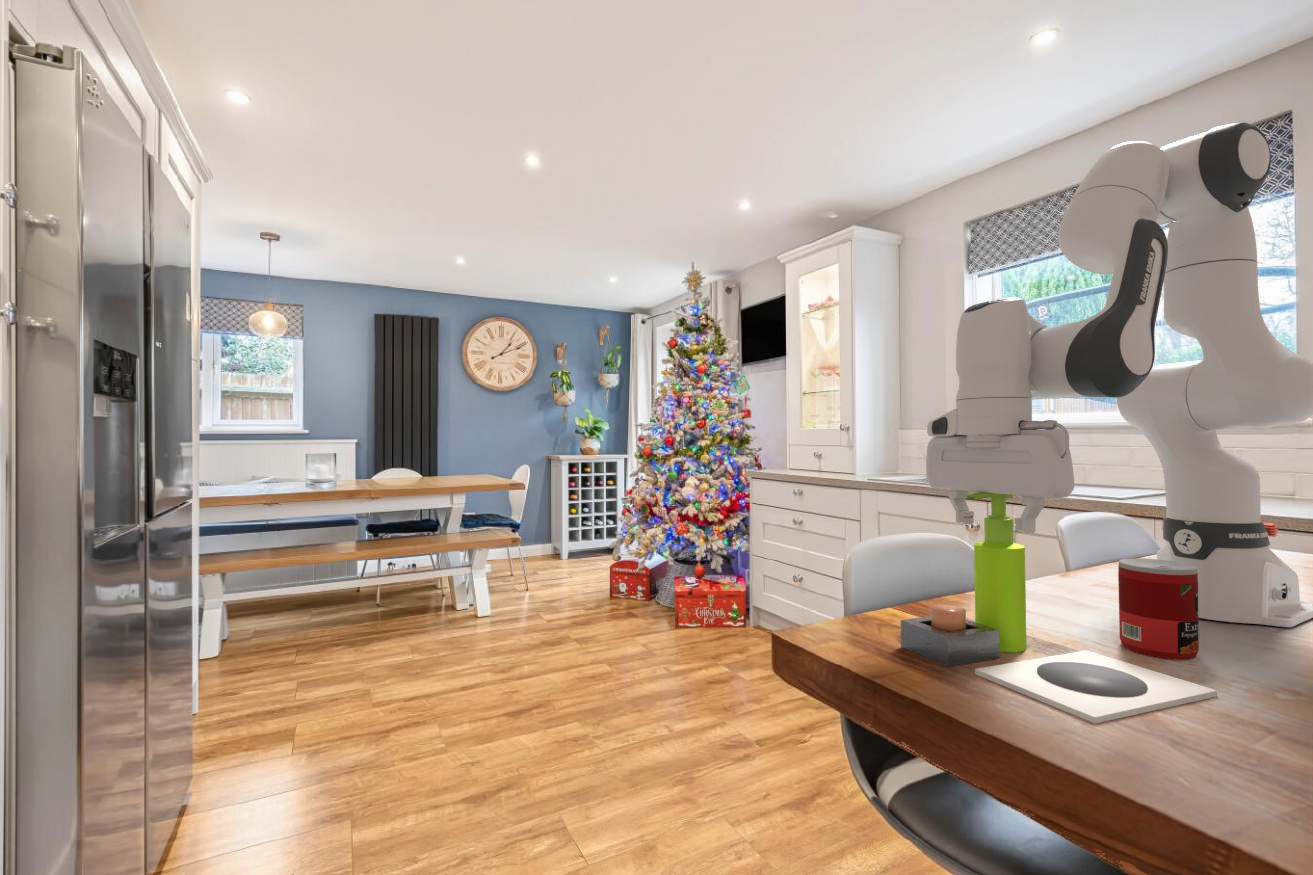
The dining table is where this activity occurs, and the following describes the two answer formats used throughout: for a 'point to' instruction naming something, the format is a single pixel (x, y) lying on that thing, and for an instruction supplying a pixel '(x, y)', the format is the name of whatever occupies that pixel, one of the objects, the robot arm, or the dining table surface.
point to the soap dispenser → (1000, 577)
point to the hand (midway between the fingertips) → (993, 528)
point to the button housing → (950, 642)
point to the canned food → (1159, 608)
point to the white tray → (1095, 685)
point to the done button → (948, 618)
